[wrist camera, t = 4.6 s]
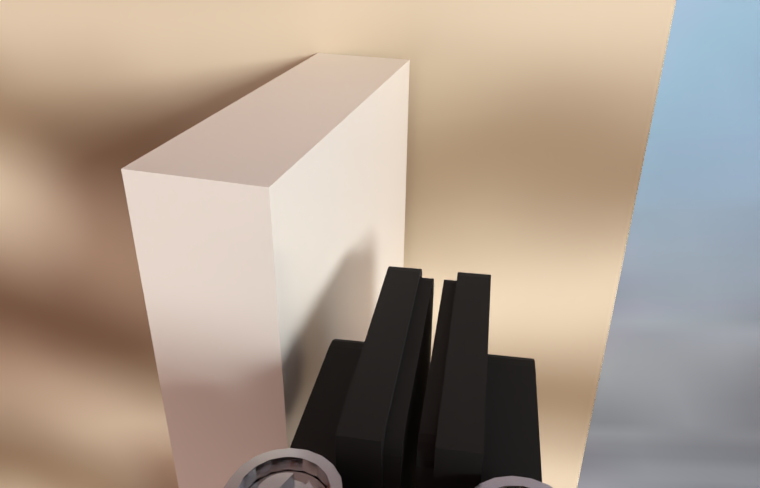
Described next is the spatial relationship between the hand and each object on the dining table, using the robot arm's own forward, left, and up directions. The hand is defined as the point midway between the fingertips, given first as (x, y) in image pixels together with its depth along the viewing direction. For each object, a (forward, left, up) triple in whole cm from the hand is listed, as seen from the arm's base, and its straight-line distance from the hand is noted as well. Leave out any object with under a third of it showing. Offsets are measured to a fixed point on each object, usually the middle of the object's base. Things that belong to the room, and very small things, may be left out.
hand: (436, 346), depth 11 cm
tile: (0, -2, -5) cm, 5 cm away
